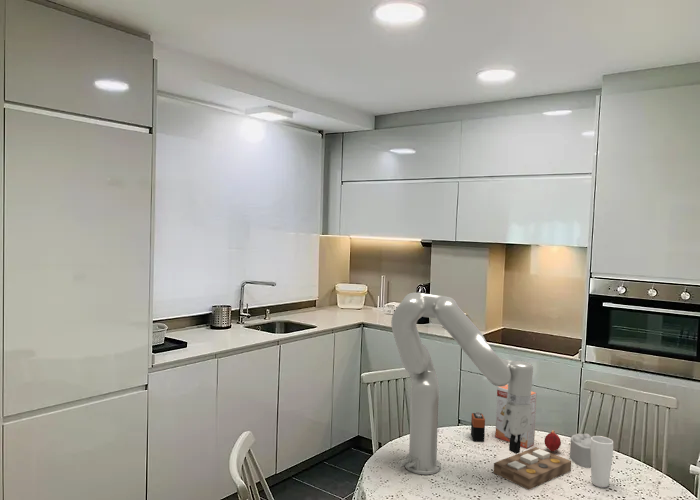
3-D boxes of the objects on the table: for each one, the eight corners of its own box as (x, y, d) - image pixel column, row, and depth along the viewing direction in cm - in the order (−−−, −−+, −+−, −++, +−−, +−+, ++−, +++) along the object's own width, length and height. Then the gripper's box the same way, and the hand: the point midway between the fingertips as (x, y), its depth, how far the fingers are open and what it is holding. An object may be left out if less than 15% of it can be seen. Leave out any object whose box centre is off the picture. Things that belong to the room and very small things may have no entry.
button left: (517, 475, 180) (518, 468, 180) (507, 470, 183) (507, 463, 183) (525, 472, 182) (525, 465, 182) (515, 467, 186) (515, 460, 186)
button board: (528, 489, 173) (529, 478, 173) (493, 473, 184) (494, 462, 184) (570, 470, 187) (571, 460, 187) (535, 456, 198) (536, 446, 198)
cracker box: (494, 437, 215) (496, 386, 214) (502, 434, 219) (504, 383, 218) (526, 449, 205) (528, 394, 204) (534, 445, 209) (537, 391, 208)
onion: (561, 455, 200) (562, 434, 199) (545, 454, 201) (546, 432, 200) (558, 449, 205) (559, 428, 205) (543, 447, 206) (543, 427, 206)
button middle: (530, 467, 184) (530, 460, 184) (520, 463, 187) (520, 456, 187) (537, 464, 186) (538, 457, 186) (527, 460, 190) (527, 453, 190)
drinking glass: (592, 477, 183) (594, 434, 182) (613, 484, 178) (615, 439, 178) (586, 484, 177) (588, 439, 177) (608, 491, 173) (610, 445, 172)
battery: (473, 441, 211) (474, 416, 210) (470, 434, 217) (471, 410, 217) (484, 442, 210) (485, 417, 210) (481, 435, 217) (482, 411, 217)
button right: (542, 462, 188) (543, 455, 188) (532, 458, 191) (532, 451, 191) (549, 459, 191) (550, 452, 190) (539, 455, 194) (539, 448, 194)
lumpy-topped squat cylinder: (579, 467, 190) (580, 443, 190) (564, 452, 203) (565, 429, 203) (608, 468, 190) (609, 444, 190) (591, 452, 203) (592, 430, 203)
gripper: (514, 405, 174) (509, 461, 175) (541, 398, 183) (537, 451, 184) (495, 398, 180) (491, 452, 181) (522, 392, 189) (518, 443, 190)
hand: (514, 451), depth 182 cm, fingers closed
